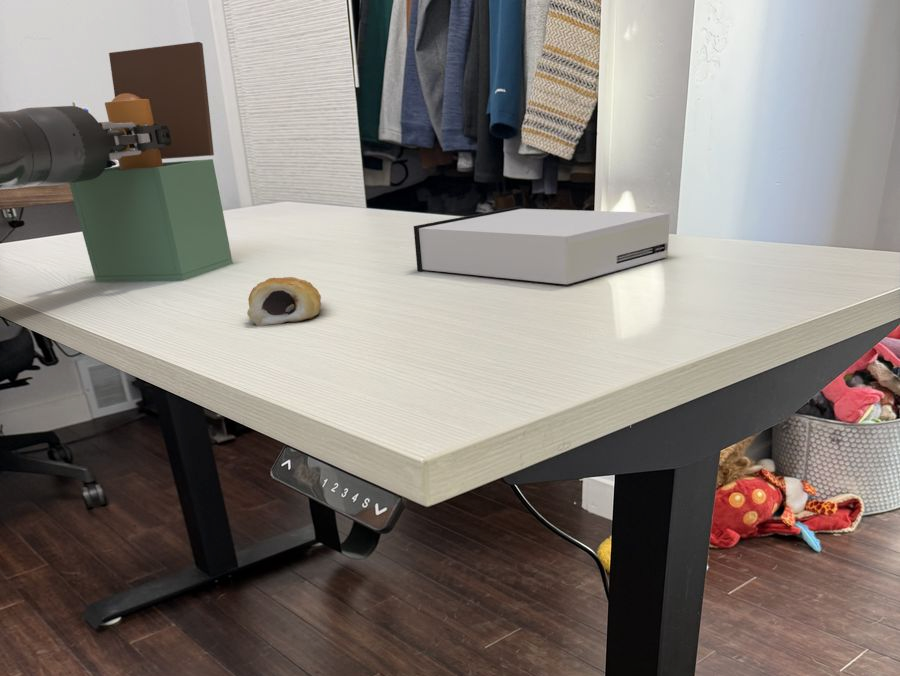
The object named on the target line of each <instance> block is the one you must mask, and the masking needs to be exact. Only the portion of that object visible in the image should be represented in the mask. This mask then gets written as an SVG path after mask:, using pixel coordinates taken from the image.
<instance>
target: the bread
mask: <svg viewBox="0 0 900 676" xmlns="http://www.w3.org/2000/svg"><path fill="white" fill-rule="evenodd" d="M104 107H105V111H106V115H107V119H108V122H112V123H114V124H117V123H130V122H133V123H134V124H135V125H140V126H144V125H148V126H151V125H153V124H154V121H153V116H152V111H151V107H150V102H149V99H141V98H139V97H138V96H136V95H134V94H129V93H124V94H120V95H118V96H116V97H115V96H114V98H113V99H112V100H110V101H107V102H106V101H105V102H104ZM117 129H120V130H122V131H123V132H124V133H125V135H127V134H126V131H125V130H124V129H123V128H117ZM110 130H116V129H110ZM128 150H129V144H128V147H127V149H126V150H124V151H128ZM117 152H122V151H117ZM117 161H118V166H120V170H123V169H137V168H152V167H161V166H163V163H164V162H163V159H162V158H161V153H160V150H158V149H154V150H146V152H141V154H140V155H132V156H122V157H121V158H120V159H117Z"/></svg>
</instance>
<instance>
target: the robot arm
mask: <svg viewBox="0 0 900 676" xmlns="http://www.w3.org/2000/svg"><path fill="white" fill-rule="evenodd" d="M117 128H123V129H124V130H125V131H126V134H127V135H125V133H124V132H123V131H122V130H120V129H117ZM111 129H116V130H111ZM171 142H172V141H171V137H170V132H169V129H168V127H167V126H161V125H157V124H153V125H151V126H148V125H144V126H140V125H135V124H134V123H133V122H130V123H117V124H114V123H112V122H109V121H98V120H97V119H96V118H95V117H94V116H93V114H91V113H90V112H88V111H87V110H86V109H84V108H82V107H78V106H76V105H62V106H61V105H60V106H38V107H37V106H35V107H26V108H21V109H18V110H10V111H9V110H8V111H0V190H10V189H11V190H12V189H19V188H25V187H32V186H33V187H35V186H41V187H42V186H43V187H51V186H59V185H65V184H69V183H73V182H80V181H87V180H92V179H95V178H97V177H98V176H100V175H101V174H102V172H103V171H104V169H105V168H107V164H108V162H109V161H118V159H120V158H121V157H122V156H132V155H140V154H141V152H146V150H154V149H158V150H160V149H163V148H165V146H170V145H171ZM128 144H129V150H128V151H124V150H126V149H127V147H128ZM117 151H122V152H117Z"/></svg>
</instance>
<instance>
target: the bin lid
mask: <svg viewBox="0 0 900 676" xmlns="http://www.w3.org/2000/svg"><path fill="white" fill-rule="evenodd" d="M108 56H109V64H110V71H111V78H112V87H113V93H114V94H113V95H114V98H115V97H116V96H118V95H120V94H124V93H129V94H134V95H136V96H138V97H139V98H141V99H149V102H150V107H151V111H152V116H153V121H154V124H157V125H161V126H167V127H168V129H169V132H170V137H171V141H172V142H171V145H170V146H165V148H163V149H160V153H161V158H162V160H171V159H183V158H195V157H196V158H198V157H209V156H210V157H212V156H215V153H214V152H215V151H214V142H213V132H212V124H211V114H210V113H211V112H210V103H209V93H208V83H207V74H206V65H205V53H204V45H203V43H202V42H200V41H195V42H185V43H177V44H170V45H162V46H161V45H160V46H152V47H143V48H138V49H137V48H136V49H129V50H121V51H113V52H109V53H108Z"/></svg>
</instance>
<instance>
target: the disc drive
mask: <svg viewBox="0 0 900 676" xmlns="http://www.w3.org/2000/svg"><path fill="white" fill-rule="evenodd" d="M670 219H671V213H670V212H645V211H644V212H643V211H611V210H609V211H608V210H607V211H606V210H577V209H541V208H524V207H523V206H521V205H519V206H514V207H508V208H503V209H497V210H492V211H487V212H481V213H476V214H470V215H465V216H460V217H454V218H449V219H443V220H438V221H433V222H428V223H423V224H418V225H417V224H416V225H413V236H414V237H413V238H414V248H415V259H416V260H415V261H416V271H417V272H418V273H422V272H426V271H431V272H432V271H433V272H442V273H450V274H451V273H452V274H460V275H471V276H480V277H481V276H482V277H489V278H500V279H508V280H509V279H510V280H518V281H519V280H520V281H529V282H540V283H548V284H556V285H557V284H559V285H571V284H574V283H577V282H582V281H585V280H588V279H593V278H596V277H600V276H603V275H608V274H611V273H614V272H618V271H621V270H625V269H628V268H633V267H636V266H640V265H644V264H646V263H647V264H648V263H650V262H654V261H657V260H661V259H664V258H668V256H669V240H670Z"/></svg>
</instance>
